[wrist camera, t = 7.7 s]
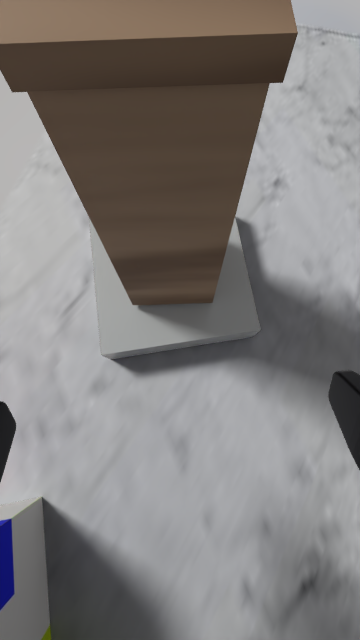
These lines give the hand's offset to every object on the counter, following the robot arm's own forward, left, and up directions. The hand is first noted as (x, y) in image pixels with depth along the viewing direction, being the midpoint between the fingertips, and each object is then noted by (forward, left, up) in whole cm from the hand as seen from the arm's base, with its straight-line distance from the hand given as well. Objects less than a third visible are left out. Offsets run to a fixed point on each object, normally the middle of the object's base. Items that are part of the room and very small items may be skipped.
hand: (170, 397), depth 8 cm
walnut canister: (+8, -1, -9) cm, 12 cm away
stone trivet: (+8, -1, -12) cm, 15 cm away
